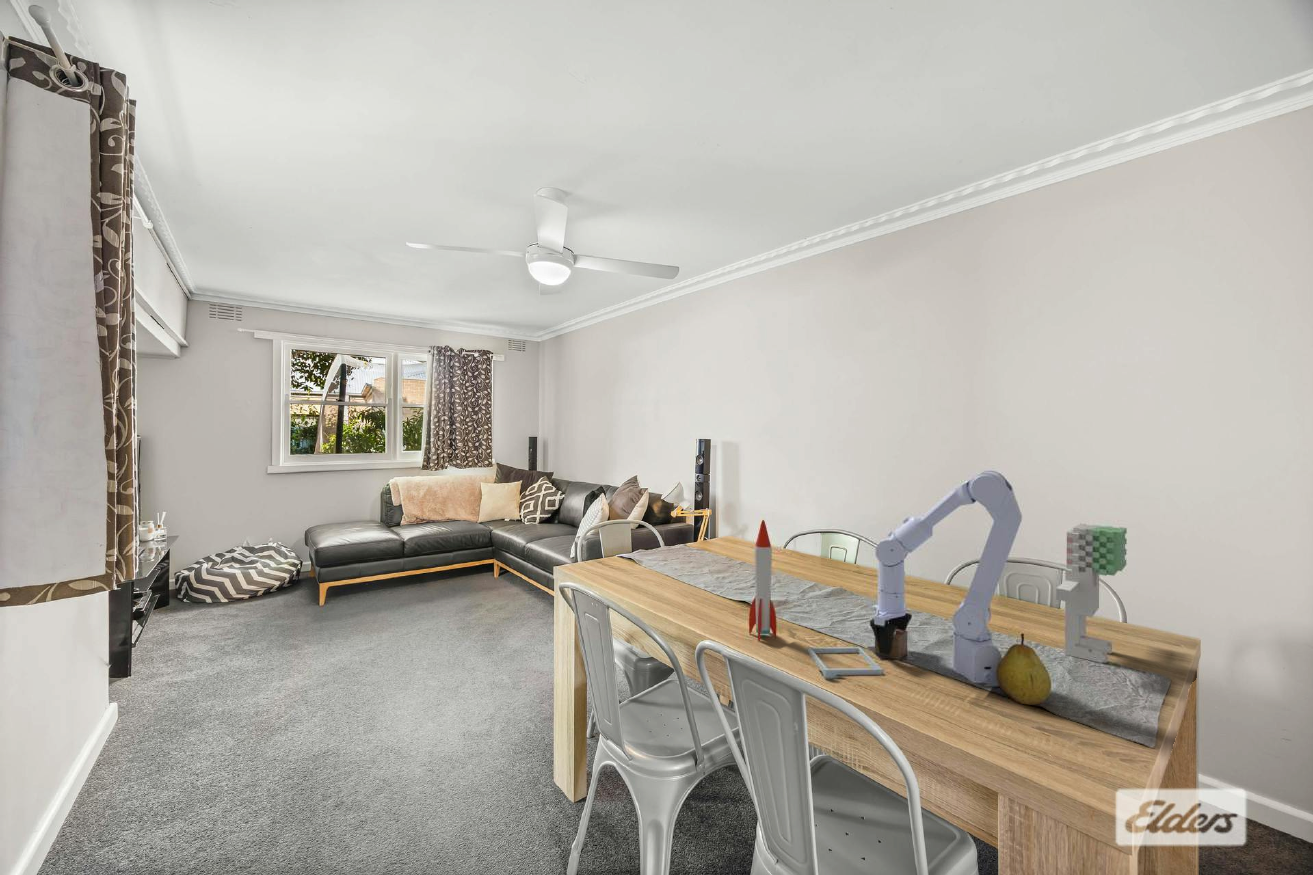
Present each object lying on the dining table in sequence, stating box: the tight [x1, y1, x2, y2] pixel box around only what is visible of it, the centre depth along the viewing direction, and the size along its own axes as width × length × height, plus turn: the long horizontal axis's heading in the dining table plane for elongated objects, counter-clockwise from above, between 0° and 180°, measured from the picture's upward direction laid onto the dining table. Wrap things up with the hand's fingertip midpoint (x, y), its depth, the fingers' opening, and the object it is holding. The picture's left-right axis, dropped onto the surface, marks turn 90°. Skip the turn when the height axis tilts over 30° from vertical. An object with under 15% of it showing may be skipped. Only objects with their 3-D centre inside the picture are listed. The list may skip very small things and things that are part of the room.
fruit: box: [996, 633, 1052, 706], centre depth 108 cm, size 9×9×12 cm
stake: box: [867, 630, 917, 661], centre depth 127 cm, size 8×8×7 cm
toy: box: [1055, 523, 1127, 664], centre depth 129 cm, size 30×10×30 cm, turn 134°
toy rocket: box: [748, 519, 778, 642], centre depth 141 cm, size 6×6×30 cm
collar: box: [873, 629, 908, 661], centre depth 128 cm, size 5×6×5 cm
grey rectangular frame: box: [807, 646, 883, 680], centre depth 122 cm, size 12×12×2 cm
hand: (891, 648), depth 127 cm, fingers open, 7 cm apart
